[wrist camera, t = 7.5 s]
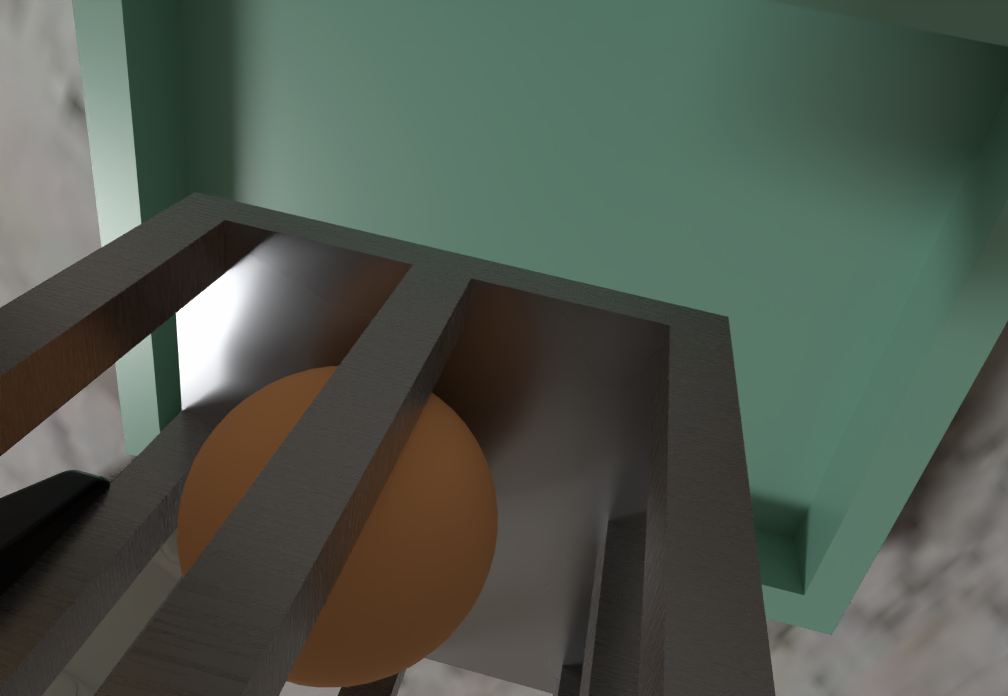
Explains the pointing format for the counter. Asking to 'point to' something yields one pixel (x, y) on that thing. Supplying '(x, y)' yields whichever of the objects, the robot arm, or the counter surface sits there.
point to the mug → (120, 625)
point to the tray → (623, 196)
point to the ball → (365, 533)
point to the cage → (395, 460)
